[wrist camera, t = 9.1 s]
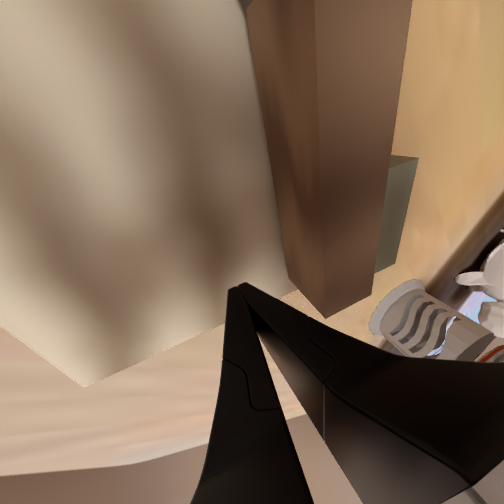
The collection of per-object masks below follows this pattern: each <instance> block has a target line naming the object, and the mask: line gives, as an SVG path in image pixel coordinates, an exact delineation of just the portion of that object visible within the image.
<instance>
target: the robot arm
mask: <svg viewBox="0 0 504 504" xmlns="http://www.w3.org/2000/svg"><path fill="white" fill-rule="evenodd" d="M258 336H259V337H258ZM259 338H260V339H261V341H262V343H263V344H264V346H265V347H266V349H267V351H268V352H269V354H270V355H271V357H272V359H273V360H274V362H275V363H276V365H277V367H278V368H279V370H280V371H281V373H282V375H283V376H284V378H285V379H286V381H287V383H288V384H289V386H290V387H291V389H292V391H293V392H294V394H295V395H296V397H297V399H298V400H299V402H300V403H301V405H302V407H303V408H304V410H305V411H306V413H307V415H308V416H309V417H310V419H311V421H312V423H313V424H314V426H315V427H316V429H317V431H318V432H319V434H320V435H321V437H322V438H323V440H324V441H325V443H326V445H327V446H328V448H329V450H330V451H331V453H332V455H333V456H334V458H335V459H336V461H337V463H338V464H339V466H340V467H341V469H342V470H343V472H344V474H345V475H346V477H347V479H348V480H349V482H350V483H351V485H352V487H353V488H354V490H355V491H356V493H357V495H358V496H359V498H360V499H361V501H362V503H363V504H504V362H499V363H492V362H474V361H460V360H445V359H431V358H417V357H407V356H401V355H397V354H393V353H390V352H387V351H384V350H382V349H379V348H377V347H375V346H372V345H370V344H367V343H365V342H363V341H360V340H358V339H356V338H353V337H351V336H348V335H346V334H344V333H342V332H339V331H337V330H335V329H333V328H330V327H328V326H326V325H324V324H323V323H321V322H319V321H317V320H315V319H313V318H311V317H308V316H307V315H306V314H304V313H302V312H300V311H298V310H297V309H295V308H293V307H291V306H289V305H287V304H286V303H284V302H282V301H280V300H278V299H277V298H275V297H273V296H271V295H269V294H267V293H266V292H264V291H262V290H260V289H258V288H256V287H255V286H253V285H251V284H249V283H247V282H244V283H241V284H239V285H238V286H234V287H232V288H230V289H228V293H227V305H226V318H225V331H224V344H223V357H222V358H223V360H222V368H221V378H220V386H219V392H218V398H217V404H216V409H215V414H214V419H213V424H212V429H211V434H210V439H209V444H208V449H207V454H206V458H205V462H204V467H203V470H202V474H201V477H200V480H199V483H198V486H197V488H196V491H195V494H194V496H193V498H192V501H191V503H190V504H314V502H313V499H312V496H311V493H310V490H309V487H308V484H307V482H306V479H305V476H304V473H303V470H302V467H301V464H300V461H299V458H298V455H297V452H296V450H295V447H294V444H293V441H292V438H291V435H290V432H289V429H288V426H287V423H286V420H285V417H284V414H283V411H282V408H281V405H280V401H279V398H278V395H277V392H276V389H275V386H274V383H273V380H272V377H271V374H270V371H269V368H268V365H267V362H266V359H265V356H264V352H263V349H262V346H261V343H260V340H259Z"/></svg>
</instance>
